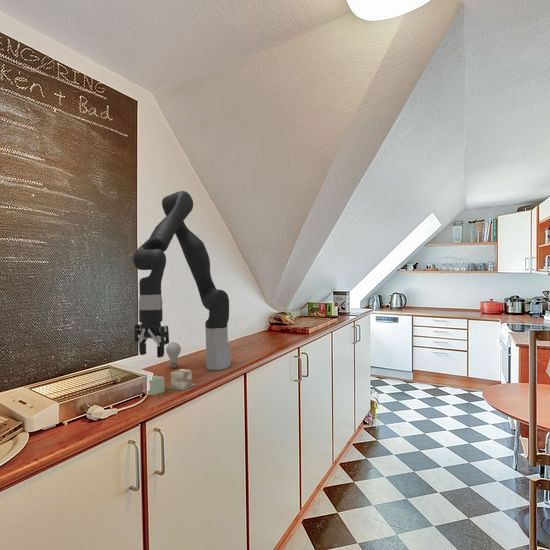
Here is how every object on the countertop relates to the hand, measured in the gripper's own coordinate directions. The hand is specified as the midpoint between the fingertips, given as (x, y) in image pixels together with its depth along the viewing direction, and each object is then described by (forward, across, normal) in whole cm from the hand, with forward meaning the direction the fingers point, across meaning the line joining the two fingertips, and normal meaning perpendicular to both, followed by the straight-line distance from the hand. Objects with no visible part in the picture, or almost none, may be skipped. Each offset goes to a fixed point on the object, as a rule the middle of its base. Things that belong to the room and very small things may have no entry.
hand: (151, 355), depth 119 cm
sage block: (+13, 0, 0) cm, 13 cm away
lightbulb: (+12, -17, +27) cm, 34 cm away
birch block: (+12, +4, +9) cm, 16 cm away
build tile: (+12, +5, +9) cm, 16 cm away
